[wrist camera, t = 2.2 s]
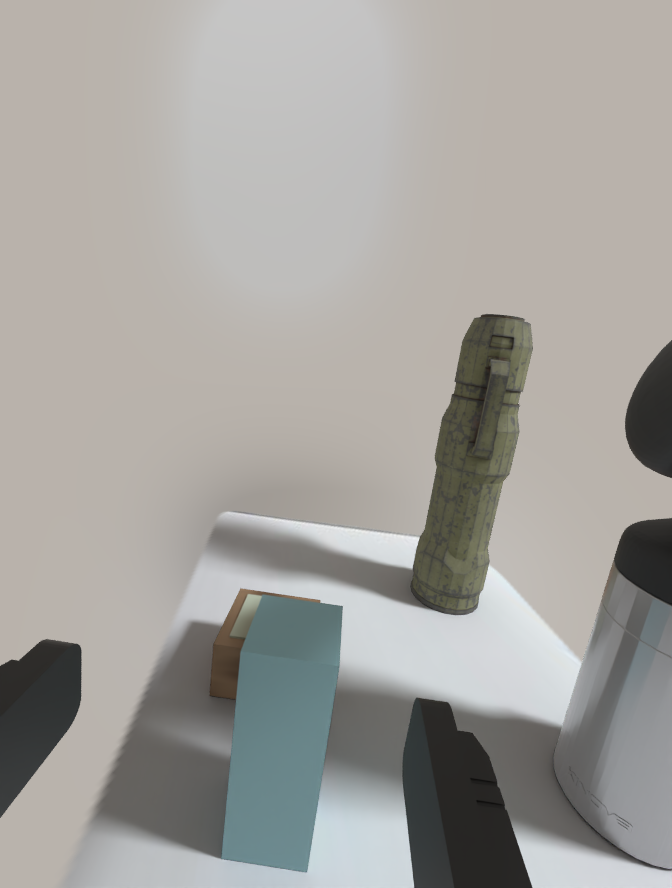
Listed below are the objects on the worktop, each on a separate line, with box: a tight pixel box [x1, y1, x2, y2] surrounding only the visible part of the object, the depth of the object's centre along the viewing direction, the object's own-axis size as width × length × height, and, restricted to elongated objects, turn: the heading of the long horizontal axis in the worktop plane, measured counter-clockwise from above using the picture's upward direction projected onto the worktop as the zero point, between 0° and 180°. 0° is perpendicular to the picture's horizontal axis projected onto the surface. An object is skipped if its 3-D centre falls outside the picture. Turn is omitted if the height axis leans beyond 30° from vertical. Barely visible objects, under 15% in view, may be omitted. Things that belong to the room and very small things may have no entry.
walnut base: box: [210, 589, 320, 700], centre depth 38 cm, size 8×8×5 cm
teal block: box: [221, 595, 343, 872], centre depth 25 cm, size 5×5×14 cm
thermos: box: [411, 314, 533, 615], centre depth 51 cm, size 9×12×35 cm
